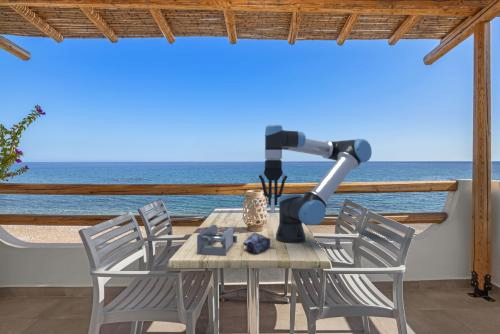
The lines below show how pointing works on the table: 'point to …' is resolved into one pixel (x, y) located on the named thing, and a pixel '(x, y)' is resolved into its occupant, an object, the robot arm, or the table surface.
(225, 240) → the gauge plunger
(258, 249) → the rock
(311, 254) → the table surface
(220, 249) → the frame
